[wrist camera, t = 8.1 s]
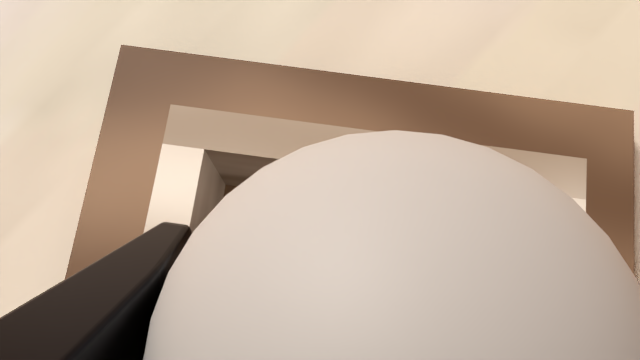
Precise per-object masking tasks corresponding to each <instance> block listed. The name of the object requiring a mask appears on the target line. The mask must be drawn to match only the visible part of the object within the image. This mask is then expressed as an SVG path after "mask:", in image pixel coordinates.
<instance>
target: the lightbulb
mask: <svg viewBox="0 0 640 360" xmlns="http://www.w3.org/2000/svg"><path fill="white" fill-rule="evenodd" d="M143 360H640V285H639V282H638V280H637V279H636V277H635V276H634V274H633V273H632V271H631V269H630V268H629V266H628V265H627V263H626V262H625V260H624V259H623V257H622V256H621V254H620V253H619V251H618V250H617V248H616V247H615V245H614V244H613V242H612V241H611V239H610V238H609V236H608V235H607V234H606V233H605V232H604V231H603V230H602V229H601V228H600V227H599V226H598V225H597V224H596V223H595V221H594V220H593V219H592V218H591V217H590V216H589V215H588V214H587V213H586V212H585V211H584V210H583V209H582V208H581V207H580V206H579V205H578V204H577V203H576V202H575V200H574V199H573V198H571V197H570V196H569V195H567V194H566V193H564V192H563V191H562V190H560V189H559V188H558V187H556V186H555V185H553V184H552V183H551V182H549V181H548V180H547V179H545V178H544V177H543V176H541V175H540V174H538V173H537V172H536V171H534V170H533V169H531V168H529V167H527V166H525V165H523V164H521V163H519V162H517V161H515V160H513V159H511V158H509V157H507V156H505V155H503V154H501V153H499V152H497V151H495V150H492V149H490V148H488V147H485V146H481V145H478V144H474V143H471V142H467V141H464V140H460V139H457V138H453V137H449V136H446V135H442V134H431V133H421V132H410V131H399V130H390V131H379V132H369V133H358V134H347V135H344V136H340V137H337V138H333V139H330V140H326V141H323V142H319V143H315V144H312V145H308V146H305V147H302V148H300V149H298V150H296V151H294V152H292V153H290V154H288V155H286V156H284V157H282V158H280V159H278V160H276V161H274V162H272V163H270V164H268V165H266V166H264V167H262V168H261V169H260V170H258V171H257V172H256V173H254V174H253V175H252V176H251V177H249V178H248V179H247V180H245V181H244V182H243V183H241V184H240V185H239V186H237V187H236V188H235V189H233V190H232V191H231V192H230V193H228V194H227V195H226V196H225V197H224V198H223V199H222V200H221V201H220V202H219V203H218V204H217V206H216V207H215V208H214V209H213V210H212V211H211V212H210V213H209V214H208V216H207V217H206V218H205V219H204V220H203V221H202V222H201V223H200V224H199V225H198V227H197V228H196V229H195V230H194V231H193V233H192V235H191V236H190V238H189V239H188V241H187V243H186V244H185V246H184V248H183V249H182V251H181V252H180V254H179V256H178V257H177V259H176V261H175V262H174V264H173V265H172V267H171V269H170V270H169V272H168V275H167V277H166V280H165V282H164V285H163V288H162V290H161V293H160V295H159V298H158V301H157V303H156V306H155V308H154V311H153V314H152V316H151V319H150V324H149V330H148V335H147V340H146V346H145V351H144V356H143Z"/></svg>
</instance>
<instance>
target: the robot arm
mask: <svg viewBox="0 0 640 360" xmlns="http://www.w3.org/2000/svg"><path fill="white" fill-rule="evenodd" d="M191 235H192V232H191V229H190V227H189V226H188V225H185V224H178V223H171V222H162V223H160V224H158V225H157V226H155V227H153V228H152V229H150V230H148V231H146V232H145V233H143V234H141V235H140V236H138V237H136V238H135V239H133V240H131V241H129V242H128V243H126V244H124V245H123V246H121V247H119V248H118V249H116V250H114V251H113V252H111V253H109V254H107V255H106V256H104V257H102V258H101V259H99V260H97V261H96V262H94V263H92V264H91V265H89V266H87V267H85V268H84V269H82V270H80V271H79V272H77V273H75V274H74V275H72V276H70V277H69V278H67V279H65V280H63V281H62V282H60V283H58V284H57V285H55V286H53V287H52V288H50V289H48V290H47V291H45V292H43V293H41V294H40V295H38V296H36V297H35V298H33V299H31V300H30V301H28V302H26V303H25V304H23V305H21V306H19V307H18V308H16V309H14V310H13V311H11V312H9V313H8V314H6V315H4V316H3V317H1V318H0V360H143V356H144V351H145V346H146V340H147V335H148V330H149V324H150V319H151V316H152V314H153V311H154V308H155V306H156V303H157V301H158V298H159V295H160V293H161V290H162V288H163V285H164V282H165V280H166V277H167V275H168V272H169V270H170V269H171V267H172V265H173V264H174V262H175V261H176V259H177V257H178V256H179V254H180V252H181V251H182V249H183V248H184V246H185V244H186V243H187V241H188V239H189V238H190V236H191Z"/></svg>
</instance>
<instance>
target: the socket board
mask: <svg viewBox="0 0 640 360" xmlns="http://www.w3.org/2000/svg"><path fill="white" fill-rule="evenodd" d="M390 130H399V131H410V132H421V133H431V134H442V135H446V136H449V137H453V138H457V139H460V140H464V141H467V142H471V143H474V144H478V145H481V146H485V147H488V148H490V149H492V150H495V151H497V152H499V153H501V154H503V155H505V156H507V157H509V158H511V159H513V160H515V161H517V162H519V163H521V164H523V165H525V166H527V167H529V168H531V169H533V170H534V171H536V172H537V173H538V174H540V175H541V176H543V177H544V178H545V179H547V180H548V181H549V182H551V183H552V184H553V185H555V186H556V187H558V188H559V189H560V190H562V191H563V192H564V193H566V194H567V195H569V196H570V197H571V198H573V199H574V200H575V202H576V203H577V204H578V205H579V206H580V207H581V208H582V209H583V210H584V211H585V212H586V213H587V214H588V215H589V216H590V217H591V218H592V219H593V220H594V221H595V223H596V224H597V225H598V226H599V227H600V228H601V229H602V230H603V231H604V232H605V233H606V234H607V235H608V236H609V238H610V239H611V241H612V242H613V244H614V245H615V247H616V248H617V250H618V251H619V253H620V254H621V256H622V257H623V259H624V260H625V262H626V263H627V265H628V266H629V268H630V269H631V271H632V273H633V274H634V111H631V110H623V109H615V108H607V107H599V106H592V105H584V104H576V103H568V102H561V101H553V100H545V99H537V98H530V97H522V96H514V95H506V94H499V93H491V92H483V91H475V90H468V89H460V88H452V87H444V86H437V85H429V84H421V83H413V82H406V81H398V80H390V79H382V78H375V77H367V76H359V75H351V74H344V73H336V72H328V71H320V70H312V69H305V68H297V67H289V66H281V65H274V64H266V63H258V62H250V61H243V60H235V59H227V58H219V57H212V56H204V55H196V54H188V53H181V52H173V51H165V50H157V49H150V48H142V47H134V46H126V45H121V48H120V52H119V56H118V60H117V64H116V69H115V73H114V77H113V81H112V85H111V89H110V94H109V98H108V102H107V106H106V110H105V114H104V119H103V123H102V127H101V131H100V135H99V139H98V144H97V148H96V152H95V156H94V160H93V164H92V169H91V173H90V177H89V181H88V185H87V189H86V193H85V198H84V202H83V206H82V210H81V214H80V218H79V223H78V227H77V231H76V235H75V239H74V243H73V248H72V252H71V256H70V260H69V264H68V268H67V273H66V277H65V279H67V278H69V277H70V276H72V275H74V274H75V273H77V272H79V271H80V270H82V269H84V268H85V267H87V266H89V265H91V264H92V263H94V262H96V261H97V260H99V259H101V258H102V257H104V256H106V255H107V254H109V253H111V252H113V251H114V250H116V249H118V248H119V247H121V246H123V245H124V244H126V243H128V242H129V241H131V240H133V239H135V238H136V237H138V236H140V235H141V234H143V233H145V232H146V231H148V230H150V229H152V228H153V227H155V226H157V225H158V224H160V223H162V222H171V223H178V224H185V225H188V226H189V227H190V229H191V232H192V233H193V231H194V230H195V229H196V228H197V227H198V225H199V224H200V223H201V222H202V221H203V220H204V219H205V218H206V217H207V216H208V214H209V213H210V212H211V211H212V210H213V209H214V208H215V207H216V206H217V204H218V203H219V202H220V201H221V200H222V199H223V198H224V197H225V196H226V195H227V194H228V193H230V192H231V191H232V190H233V189H235V188H236V187H237V186H239V185H240V184H241V183H243V182H244V181H245V180H247V179H248V178H249V177H251V176H252V175H253V174H254V173H256V172H257V171H258V170H260V169H261V168H262V167H264V166H266V165H268V164H270V163H272V162H274V161H276V160H278V159H280V158H282V157H284V156H286V155H288V154H290V153H292V152H294V151H296V150H298V149H300V148H302V147H305V146H308V145H312V144H315V143H319V142H323V141H326V140H330V139H333V138H337V137H340V136H344V135H347V134H358V133H369V132H379V131H390Z"/></svg>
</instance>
